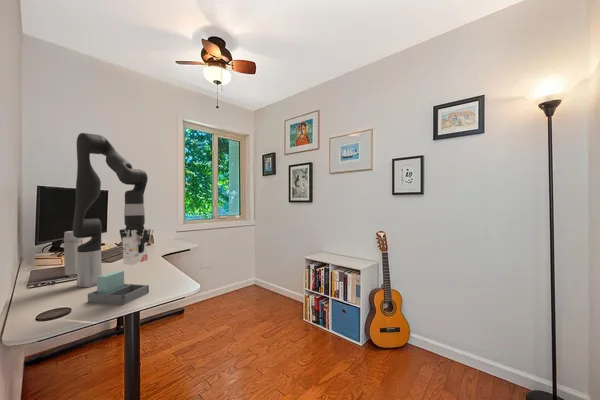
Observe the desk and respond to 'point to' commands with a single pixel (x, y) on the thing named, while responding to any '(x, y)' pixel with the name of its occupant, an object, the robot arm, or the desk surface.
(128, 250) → the ink cartridge box
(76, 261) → the water bottle
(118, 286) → the teal block
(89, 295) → the cartridge holder
